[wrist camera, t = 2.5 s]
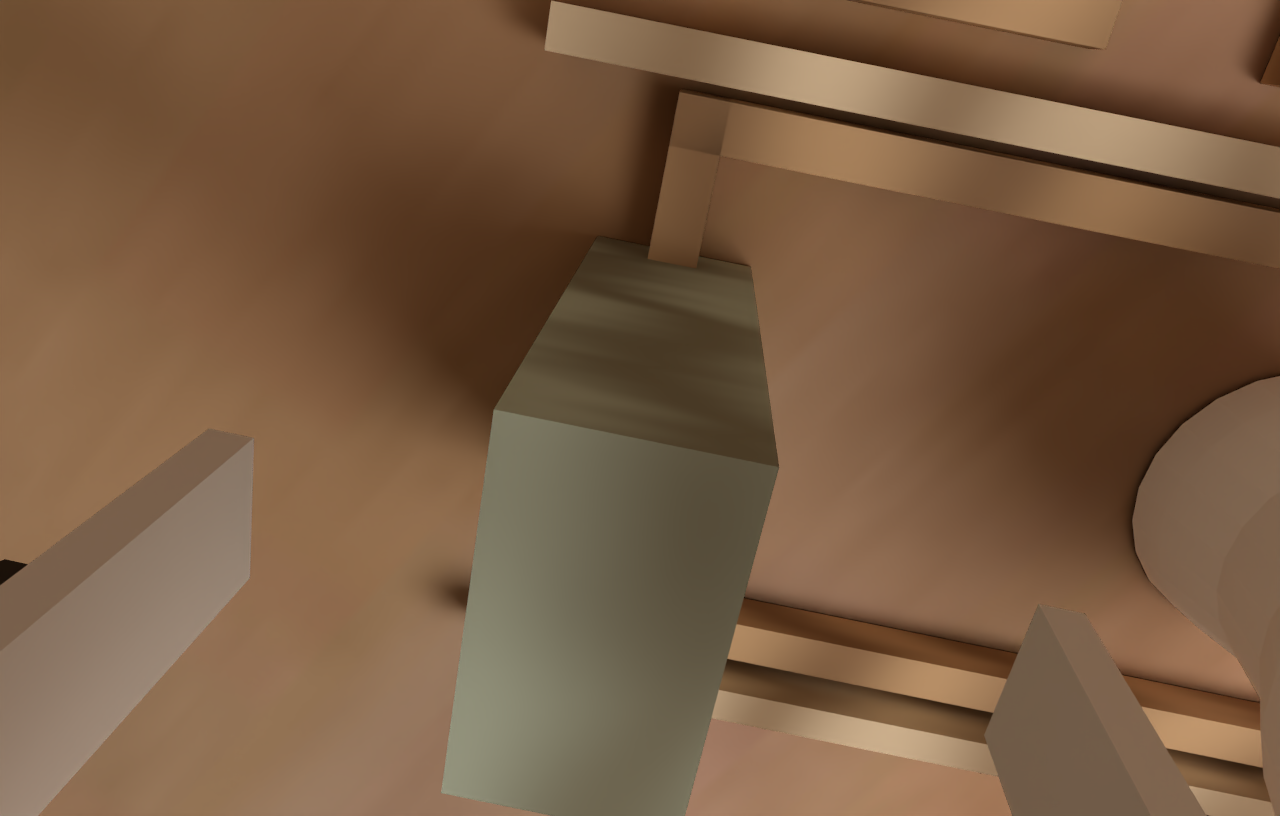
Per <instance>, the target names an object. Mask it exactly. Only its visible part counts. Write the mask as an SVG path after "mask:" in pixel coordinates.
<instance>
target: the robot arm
mask: <svg viewBox="0 0 1280 816" xmlns="http://www.w3.org/2000/svg"><path fill="white" fill-rule="evenodd" d="M253 454H254V438H252V437H247V436H242V435H237V434H233V433H228V432H223V431H218V430H214V429H208V430H206V431H205V432H204V433H202V434H201V435H200V436H198V437H197V438H196V439H194V440H193V441H192V442H190V443H189V444H188V445H186V446H185V447H184V448H182V449H181V450H180V451H178V452H177V453H176V454H174V455H173V456H172V457H170V458H169V459H168V460H166V461H165V462H164V463H162V464H161V465H160V466H158V467H157V468H156V469H154V470H153V471H152V472H150V473H149V474H148V475H146V476H145V477H144V478H142V479H141V480H140V481H138V482H137V483H136V484H134V485H133V486H132V487H130V488H129V489H128V490H126V491H125V492H124V493H122V494H121V495H120V496H118V497H117V498H116V499H114V500H113V501H112V502H110V503H109V504H108V505H106V506H105V507H104V508H102V509H101V510H100V511H98V512H97V513H96V514H94V515H93V516H92V517H90V518H89V519H88V520H86V521H85V522H84V523H82V524H81V525H80V526H79V527H77V528H76V529H75V530H73V531H72V532H71V533H69V534H68V535H67V536H65V537H64V538H63V539H61V540H60V541H59V542H57V543H56V544H55V545H53V546H52V547H51V548H49V549H48V550H47V551H45V552H44V553H43V554H41V555H40V556H39V557H37V558H36V559H35V560H33V561H32V562H31V563H29V564H24V563H19V562H15V561H10V560H5V559H4V560H2V561H0V816H38V815H39V814H40V813H41V812H42V811H43V810H44V809H45V807H46V806H47V805H48V804H49V803H50V802H51V801H52V800H53V798H54V797H55V796H56V795H57V794H58V793H59V792H60V791H61V789H62V788H63V787H64V786H65V785H66V784H67V783H68V782H69V780H70V779H71V778H72V777H73V776H74V775H75V774H76V773H77V771H78V770H79V769H80V768H81V767H82V766H83V765H84V764H85V763H86V761H87V760H88V759H89V758H90V757H91V756H92V755H93V754H94V752H95V751H96V750H97V749H98V748H99V747H100V746H101V745H102V743H103V742H104V741H105V740H106V739H107V738H108V737H109V736H110V734H111V733H112V732H113V731H114V730H115V729H116V728H117V727H118V725H119V724H120V723H121V722H122V721H123V720H124V719H125V718H126V716H127V715H128V714H129V713H130V712H131V711H132V710H133V709H134V707H135V706H136V705H137V704H138V703H139V702H140V701H141V700H142V699H143V697H144V696H145V695H146V694H147V693H148V692H149V691H150V690H151V688H152V687H153V686H154V685H155V684H156V683H157V682H158V681H159V679H160V678H161V677H162V676H163V675H164V674H165V673H166V672H167V670H168V669H169V668H170V667H171V666H172V665H173V664H174V663H175V661H176V660H177V659H178V658H179V657H180V656H181V655H182V654H183V652H184V651H185V650H186V649H187V648H188V647H189V646H190V645H191V644H192V642H193V641H194V640H195V639H196V638H197V637H198V636H199V635H200V633H201V632H202V631H203V630H204V629H205V628H206V627H207V626H208V624H209V623H210V622H211V621H212V620H213V619H214V618H215V617H216V615H217V614H218V613H219V612H220V611H221V610H222V609H223V608H224V606H225V605H226V604H227V603H228V602H229V601H230V600H231V599H232V597H233V596H234V595H235V594H236V593H237V592H238V591H239V590H240V588H241V587H242V586H243V585H244V584H245V583H246V582H247V581H248V580H249V578H250V556H251V522H252V488H253ZM984 737H985V739H986V742H987V745H988V748H989V751H990V754H991V756H992V759H993V762H994V765H995V768H996V771H997V773H998V776H999V779H1000V782H1001V785H1002V788H1003V790H1004V793H1005V796H1006V799H1007V802H1008V805H1009V807H1010V810H1011V813H1012V816H1209V815H1206V814H1205V812H1204V811H1203V809H1202V807H1201V806H1200V804H1199V802H1198V801H1197V799H1196V797H1195V796H1194V794H1193V792H1192V791H1191V789H1190V787H1189V786H1188V784H1187V782H1186V781H1185V779H1184V777H1183V776H1182V774H1181V772H1180V771H1179V769H1178V767H1177V766H1176V764H1175V762H1174V761H1173V759H1172V757H1171V756H1170V754H1169V752H1168V751H1167V749H1166V747H1165V746H1164V744H1163V742H1162V741H1161V739H1160V737H1159V736H1158V734H1157V732H1156V731H1155V729H1154V727H1153V726H1152V724H1151V722H1150V721H1149V719H1148V717H1147V716H1146V714H1145V712H1144V711H1143V709H1142V707H1141V706H1140V704H1139V702H1138V701H1137V699H1136V697H1135V696H1134V694H1133V692H1132V691H1131V689H1130V687H1129V686H1128V684H1127V682H1126V681H1125V679H1124V677H1123V676H1122V674H1121V672H1120V671H1119V669H1118V667H1117V666H1116V664H1115V662H1114V661H1113V659H1112V657H1111V656H1110V654H1109V652H1108V651H1107V649H1106V647H1105V646H1104V644H1103V642H1102V641H1101V639H1100V638H1099V636H1098V634H1097V633H1096V631H1095V629H1094V628H1093V626H1092V624H1091V623H1090V621H1089V619H1088V618H1087V616H1086V614H1084V613H1080V612H1075V611H1070V610H1065V609H1061V608H1056V607H1051V606H1047V605H1042V604H1038V607H1037V609H1036V611H1035V614H1034V616H1033V619H1032V621H1031V623H1030V626H1029V628H1028V631H1027V633H1026V635H1025V638H1024V640H1023V643H1022V645H1021V647H1020V650H1019V652H1018V655H1017V657H1016V659H1015V662H1014V664H1013V667H1012V669H1011V671H1010V674H1009V676H1008V679H1007V681H1006V683H1005V686H1004V688H1003V691H1002V693H1001V695H1000V698H999V700H998V703H997V705H996V707H995V710H994V712H993V715H992V717H991V719H990V722H989V724H988V727H987V729H986V731H985V734H984Z"/></svg>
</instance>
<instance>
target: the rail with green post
mask: <svg viewBox="0 0 1280 816" xmlns="http://www.w3.org/2000/svg"><path fill="white" fill-rule="evenodd" d="M720 156H723V157H728V158H733V159H737V160H742V161H747V162H752V163H757V164H762V165H767V166H772V167H777V168H782V169H787V170H792V171H797V172H802V173H807V174H812V175H817V176H822V177H827V178H832V179H837V180H841V181H846V182H851V183H856V184H861V185H866V186H871V187H876V188H881V189H886V190H891V191H896V192H901V193H906V194H911V195H916V196H921V197H926V198H931V199H936V200H941V201H945V202H950V203H955V204H960V205H965V206H970V207H975V208H980V209H985V210H990V211H995V212H1000V213H1005V214H1010V215H1015V216H1020V217H1025V218H1030V219H1035V220H1040V221H1045V222H1049V223H1054V224H1059V225H1064V226H1069V227H1074V228H1079V229H1084V230H1089V231H1094V232H1099V233H1104V234H1109V235H1114V236H1119V237H1124V238H1129V239H1134V240H1139V241H1144V242H1149V243H1154V244H1158V245H1163V246H1168V247H1173V248H1178V249H1183V250H1188V251H1193V252H1198V253H1203V254H1208V255H1213V256H1218V257H1223V258H1228V259H1233V260H1238V261H1243V262H1248V263H1253V264H1258V265H1262V266H1267V267H1272V268H1277V269H1280V209H1276V208H1271V207H1266V206H1261V205H1256V204H1251V203H1246V202H1241V201H1236V200H1231V199H1226V198H1221V197H1216V196H1211V195H1206V194H1201V193H1196V192H1192V191H1187V190H1182V189H1177V188H1172V187H1167V186H1162V185H1157V184H1152V183H1147V182H1142V181H1137V180H1132V179H1127V178H1122V177H1117V176H1112V175H1107V174H1102V173H1097V172H1092V171H1087V170H1082V169H1078V168H1073V167H1068V166H1063V165H1058V164H1053V163H1048V162H1043V161H1038V160H1033V159H1028V158H1023V157H1018V156H1013V155H1008V154H1003V153H998V152H993V151H988V150H983V149H978V148H973V147H968V146H963V145H959V144H954V143H949V142H944V141H939V140H934V139H929V138H924V137H919V136H914V135H909V134H904V133H899V132H894V131H889V130H884V129H879V128H874V127H869V126H864V125H859V124H854V123H849V122H845V121H840V120H835V119H830V118H825V117H820V116H815V115H810V114H805V113H800V112H795V111H790V110H785V109H780V108H775V107H770V106H765V105H760V104H755V103H750V102H745V101H740V100H735V99H730V98H726V97H721V96H716V95H711V94H706V93H701V92H696V91H691V90H686V89H681V91H680V92H679V98H678V103H677V108H676V113H675V118H674V124H673V129H672V134H671V139H670V144H669V150H668V155H667V160H666V165H665V170H664V176H663V181H662V186H661V191H660V196H659V202H658V207H657V212H656V217H655V222H654V228H653V233H652V238H651V243H650V246H646V245H641V244H636V243H631V242H626V241H621V240H616V239H611V238H606V237H601V236H597V238H596V240H595V241H594V243H593V245H592V246H591V248H590V250H589V251H588V253H587V255H586V256H585V258H584V260H583V261H582V263H581V265H580V266H579V268H578V270H577V271H576V273H575V275H574V276H573V278H572V280H571V281H570V283H569V285H568V286H567V288H566V290H565V291H564V293H563V295H562V296H561V298H560V300H559V301H558V303H557V305H556V306H555V308H554V310H553V311H552V313H551V315H550V316H549V318H548V320H547V321H546V323H545V325H544V326H543V328H542V330H541V331H540V333H539V335H538V336H537V338H536V340H535V341H534V343H533V345H532V346H531V348H530V350H529V351H528V353H527V355H526V356H525V358H524V360H523V361H522V363H521V365H520V366H519V368H518V370H517V371H516V373H515V375H514V376H513V378H512V380H511V382H510V383H509V385H508V387H507V388H506V390H505V392H504V393H503V395H502V397H501V398H500V400H499V402H498V403H497V405H496V407H495V408H494V412H493V419H492V426H491V434H490V441H489V448H488V455H487V463H486V470H485V477H484V485H483V492H482V499H481V506H480V514H479V521H478V528H477V536H476V543H475V550H474V558H473V565H472V572H471V579H470V587H469V594H468V601H467V609H466V616H465V623H464V631H463V638H462V645H461V652H460V660H459V667H458V674H457V682H456V689H455V696H454V703H453V711H452V718H451V725H450V733H449V740H448V747H447V755H446V762H445V769H444V776H443V784H442V791H441V793H444V794H448V795H453V796H458V797H463V798H468V799H473V800H478V801H483V802H488V803H493V804H497V805H502V806H507V807H512V808H517V809H522V810H527V811H532V812H537V813H542V814H546V815H551V816H685V814H686V810H687V806H688V802H689V799H690V795H691V791H692V788H693V784H694V780H695V777H696V773H697V769H698V765H699V762H700V758H701V754H702V751H703V747H704V743H705V739H706V736H707V732H708V728H709V725H710V721H711V717H712V714H713V710H714V706H715V702H716V699H717V695H718V691H719V688H720V684H721V680H722V677H723V673H724V669H725V665H726V662H727V659H731V660H736V661H741V662H746V663H751V664H756V665H760V666H765V667H770V668H775V669H780V670H785V671H790V672H795V673H800V674H805V675H810V676H815V677H819V678H824V679H829V680H834V681H839V682H844V683H849V684H854V685H859V686H864V687H869V688H874V689H878V690H883V691H888V692H893V693H898V694H903V695H908V696H913V697H918V698H923V699H928V700H933V701H937V702H942V703H947V704H952V705H957V706H962V707H967V708H972V709H977V710H982V711H987V712H992V713H993V712H994V710H995V707H996V705H997V703H998V700H999V698H1000V695H1001V693H1002V691H1003V688H1004V686H1005V683H1006V681H1007V679H1008V676H1009V674H1010V671H1011V669H1012V667H1013V664H1014V662H1015V659H1016V657H1017V655H1018V654H1016V653H1011V652H1006V651H1001V650H996V649H991V648H986V647H981V646H977V645H972V644H967V643H962V642H957V641H952V640H947V639H942V638H937V637H932V636H927V635H922V634H917V633H913V632H908V631H903V630H898V629H893V628H888V627H883V626H878V625H873V624H868V623H863V622H858V621H854V620H849V619H844V618H839V617H834V616H829V615H824V614H819V613H814V612H809V611H804V610H799V609H794V608H790V607H785V606H780V605H775V604H770V603H765V602H760V601H755V600H750V599H745V598H744V595H745V591H746V588H747V584H748V580H749V576H750V573H751V569H752V565H753V562H754V558H755V554H756V551H757V547H758V543H759V539H760V536H761V532H762V528H763V525H764V521H765V517H766V514H767V510H768V506H769V502H770V499H771V495H772V491H773V488H774V484H775V480H776V476H777V473H778V469H779V464H778V456H777V449H776V442H775V435H774V428H773V421H772V414H771V406H770V399H769V392H768V385H767V378H766V371H765V363H764V356H763V349H762V342H761V335H760V328H759V320H758V313H757V306H756V299H755V292H754V285H753V278H752V270H751V267H749V266H745V265H740V264H735V263H730V262H725V261H720V260H715V259H710V258H705V257H700V256H699V253H700V248H701V243H702V239H703V234H704V229H705V225H706V220H707V215H708V211H709V206H710V201H711V197H712V192H713V187H714V182H715V178H716V173H717V168H718V164H719V159H720ZM1122 676H1123V677H1124V679H1125V681H1126V682H1127V684H1128V686H1129V687H1130V689H1131V691H1132V692H1133V694H1134V696H1135V697H1136V699H1137V701H1138V702H1139V704H1140V706H1141V707H1142V709H1143V711H1144V712H1145V714H1146V716H1147V717H1148V719H1149V721H1150V722H1151V724H1152V726H1153V727H1154V729H1155V731H1156V732H1157V734H1158V736H1159V737H1160V739H1161V741H1162V742H1163V744H1164V746H1165V747H1166V748H1169V749H1173V750H1178V751H1183V752H1188V753H1193V754H1198V755H1203V756H1208V757H1213V758H1218V759H1223V760H1228V761H1232V762H1237V763H1242V764H1247V765H1252V766H1257V767H1262V768H1263V761H1262V746H1261V730H1260V703H1257V702H1252V701H1247V700H1242V699H1237V698H1232V697H1227V696H1223V695H1218V694H1213V693H1208V692H1203V691H1198V690H1193V689H1188V688H1183V687H1178V686H1173V685H1168V684H1164V683H1159V682H1154V681H1149V680H1144V679H1139V678H1134V677H1129V676H1124V675H1122Z"/></svg>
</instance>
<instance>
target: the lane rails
mask: <svg viewBox="0 0 1280 816" xmlns="http://www.w3.org/2000/svg"><path fill="white" fill-rule="evenodd" d="M849 1H854V2H859V3H864V4H869V5H874V6H879V7H884V8H889V9H894V10H899V11H904V12H908V13H913V14H918V15H923V16H928V17H933V18H938V19H943V20H948V21H953V22H958V23H963V24H968V25H973V26H978V27H983V28H988V29H993V30H998V31H1003V32H1008V33H1013V34H1018V35H1023V36H1028V37H1033V38H1038V39H1043V40H1048V41H1053V42H1057V43H1062V44H1067V45H1072V46H1077V47H1082V48H1087V49H1106V47H1107V44H1108V41H1109V38H1110V35H1111V33H1112V30H1113V27H1114V24H1115V21H1116V18H1117V15H1118V13H1119V10H1120V7H1121V4H1122V1H1123V0H849ZM544 50H546V51H550V52H555V53H560V54H565V55H570V56H575V57H580V58H585V59H590V60H595V61H600V62H605V63H610V64H615V65H620V66H625V67H630V68H635V69H640V70H645V71H650V72H655V73H660V74H665V75H669V76H674V77H679V78H684V79H689V80H694V81H699V82H704V83H709V84H714V85H719V86H724V87H729V88H734V89H739V90H744V91H749V92H754V93H759V94H764V95H769V96H774V97H779V98H784V99H788V100H793V101H798V102H803V103H808V104H813V105H818V106H823V107H828V108H833V109H838V110H843V111H848V112H853V113H858V114H863V115H868V116H873V117H878V118H883V119H888V120H893V121H898V122H903V123H907V124H912V125H917V126H922V127H927V128H932V129H937V130H942V131H947V132H952V133H957V134H962V135H967V136H972V137H977V138H982V139H987V140H992V141H997V142H1002V143H1007V144H1012V145H1017V146H1022V147H1026V148H1031V149H1036V150H1041V151H1046V152H1051V153H1056V154H1061V155H1066V156H1071V157H1076V158H1081V159H1086V160H1091V161H1096V162H1101V163H1106V164H1111V165H1116V166H1121V167H1126V168H1131V169H1136V170H1141V171H1145V172H1150V173H1155V174H1160V175H1165V176H1170V177H1175V178H1180V179H1185V180H1190V181H1195V182H1200V183H1205V184H1210V185H1215V186H1220V187H1225V188H1230V189H1235V190H1240V191H1245V192H1250V193H1255V194H1260V195H1264V196H1269V197H1274V198H1279V199H1280V147H1276V146H1271V145H1266V144H1261V143H1256V142H1251V141H1246V140H1241V139H1236V138H1231V137H1226V136H1221V135H1216V134H1211V133H1206V132H1201V131H1196V130H1192V129H1187V128H1182V127H1177V126H1172V125H1167V124H1162V123H1157V122H1152V121H1147V120H1142V119H1137V118H1132V117H1127V116H1122V115H1117V114H1112V113H1107V112H1102V111H1097V110H1092V109H1087V108H1082V107H1077V106H1072V105H1067V104H1063V103H1058V102H1053V101H1048V100H1043V99H1038V98H1033V97H1028V96H1023V95H1018V94H1013V93H1008V92H1003V91H998V90H993V89H988V88H983V87H978V86H973V85H968V84H963V83H958V82H953V81H948V80H943V79H938V78H934V77H929V76H924V75H919V74H914V73H909V72H904V71H899V70H894V69H889V68H884V67H879V66H874V65H869V64H864V63H859V62H854V61H849V60H844V59H839V58H834V57H829V56H824V55H819V54H814V53H809V52H804V51H800V50H795V49H790V48H785V47H780V46H775V45H770V44H765V43H760V42H755V41H750V40H745V39H740V38H735V37H730V36H725V35H720V34H715V33H710V32H705V31H700V30H695V29H690V28H685V27H680V26H675V25H671V24H666V23H661V22H656V21H651V20H646V19H641V18H636V17H631V16H626V15H621V14H616V13H611V12H606V11H601V10H596V9H591V8H586V7H581V6H576V5H571V4H566V3H561V2H556V1H551V6H550V13H549V20H548V27H547V35H546V42H545V49H544ZM1260 83H1261V84H1266V85H1271V86H1276V87H1280V37H1279V39H1278V41H1277V44H1276V46H1275V49H1274V51H1273V53H1272V56H1271V58H1270V61H1269V63H1268V65H1267V68H1266V70H1265V73H1264V75H1263V77H1262V80H1261V82H1260ZM992 715H993V713H992V712H987V711H982V710H977V709H972V708H967V707H962V706H957V705H952V704H947V703H942V702H937V701H933V700H928V699H923V698H918V697H913V696H908V695H903V694H898V693H893V692H888V691H883V690H878V689H874V688H869V687H864V686H859V685H854V684H849V683H844V682H839V681H834V680H829V679H824V678H819V677H815V676H810V675H805V674H800V673H795V672H790V671H785V670H780V669H775V668H770V667H765V666H760V665H756V664H751V663H746V662H741V661H736V660H731V659H727V662H726V665H725V669H724V673H723V677H722V680H721V684H720V688H719V691H718V695H717V699H716V702H715V706H714V710H713V714H712V717H711V718H713V719H717V720H722V721H727V722H732V723H737V724H742V725H747V726H752V727H757V728H762V729H767V730H771V731H776V732H781V733H786V734H791V735H796V736H801V737H806V738H811V739H816V740H821V741H825V742H830V743H835V744H840V745H845V746H850V747H855V748H860V749H865V750H870V751H875V752H880V753H884V754H889V755H894V756H899V757H904V758H909V759H914V760H919V761H924V762H929V763H934V764H938V765H943V766H948V767H953V768H958V769H963V770H968V771H973V772H978V773H983V774H988V775H992V776H997V777H999V776H998V773H997V771H996V768H995V765H994V762H993V759H992V756H991V754H990V751H989V748H988V745H987V742H986V739H985V737H984V734H985V731H986V729H987V727H988V724H989V722H990V719H991V717H992ZM1166 749H1167V751H1168V752H1169V754H1170V756H1171V757H1172V759H1173V761H1174V762H1175V764H1176V766H1177V767H1178V769H1179V771H1180V772H1181V774H1182V776H1183V777H1184V779H1185V781H1186V782H1187V784H1188V786H1189V787H1190V789H1191V791H1192V792H1193V794H1194V796H1195V797H1196V799H1197V801H1198V802H1199V804H1200V806H1201V807H1202V809H1203V811H1204V812H1205V814H1206V815H1209V816H1275V813H1274V810H1273V807H1272V803H1271V800H1270V797H1269V793H1268V790H1267V787H1266V783H1265V780H1264V776H1263V768H1262V767H1257V766H1252V765H1247V764H1242V763H1237V762H1232V761H1228V760H1223V759H1218V758H1213V757H1208V756H1203V755H1198V754H1193V753H1188V752H1183V751H1178V750H1173V749H1169V748H1166Z"/></svg>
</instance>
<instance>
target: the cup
mask: <svg viewBox="0 0 1280 816" xmlns="http://www.w3.org/2000/svg"><path fill="white" fill-rule="evenodd" d="M1132 523H1133V532H1134V541H1135V550H1136V554H1137V556H1138V558H1139V560H1140V562H1141V564H1142V567H1143V569H1144V571H1145V573H1146V575H1147V577H1148V579H1149V581H1150V582H1151V583H1152V584H1153V585H1154V586H1155V587H1156V588H1157V589H1158V590H1159V591H1160V592H1161V593H1162V594H1163V595H1164V596H1165V597H1166V598H1167V599H1168V601H1169V602H1170V603H1171V604H1173V605H1174V606H1175V607H1176V608H1177V609H1178V610H1179V611H1180V612H1181V613H1182V614H1183V615H1185V616H1186V617H1187V618H1188V619H1189V620H1190V621H1191V622H1192V623H1193V624H1194V625H1195V626H1197V627H1198V628H1199V629H1200V630H1202V631H1203V632H1204V633H1205V634H1207V635H1208V636H1209V637H1211V638H1212V639H1213V640H1214V641H1216V642H1217V643H1218V644H1219V645H1221V646H1222V647H1223V648H1225V649H1226V650H1227V651H1228V652H1230V653H1231V654H1232V655H1233V656H1235V657H1236V658H1237V659H1238V661H1239V663H1240V664H1241V666H1242V668H1243V670H1244V671H1245V673H1246V675H1247V677H1248V678H1249V680H1250V682H1251V684H1252V686H1253V687H1254V689H1255V691H1256V693H1257V694H1258V696H1259V698H1260V730H1261V746H1262V761H1263V776H1264V780H1265V783H1266V787H1267V790H1268V793H1269V797H1270V800H1271V803H1272V807H1273V810H1274V813H1275V816H1280V376H1278V377H1273V378H1269V379H1264V380H1259V381H1256V382H1254V383H1251V384H1249V385H1247V386H1245V387H1242V388H1240V389H1238V390H1236V391H1234V392H1231V393H1229V394H1227V395H1225V396H1222V397H1220V398H1218V399H1216V400H1215V401H1213V402H1212V403H1211V404H1209V405H1208V406H1207V407H1205V408H1204V409H1202V410H1201V411H1200V412H1198V413H1197V414H1196V415H1194V416H1193V417H1191V418H1190V419H1189V420H1187V421H1186V422H1185V423H1183V424H1182V425H1181V426H1180V427H1179V429H1178V430H1177V431H1176V432H1175V433H1174V434H1173V435H1172V437H1171V438H1170V439H1169V440H1168V441H1167V442H1166V443H1165V445H1164V446H1163V447H1162V448H1161V449H1160V450H1159V451H1158V453H1157V454H1156V455H1155V457H1154V459H1153V461H1152V463H1151V465H1150V467H1149V469H1148V471H1147V473H1146V475H1145V476H1144V478H1143V480H1142V482H1141V484H1140V486H1139V489H1138V494H1137V499H1136V504H1135V509H1134V514H1133V519H1132Z"/></svg>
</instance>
